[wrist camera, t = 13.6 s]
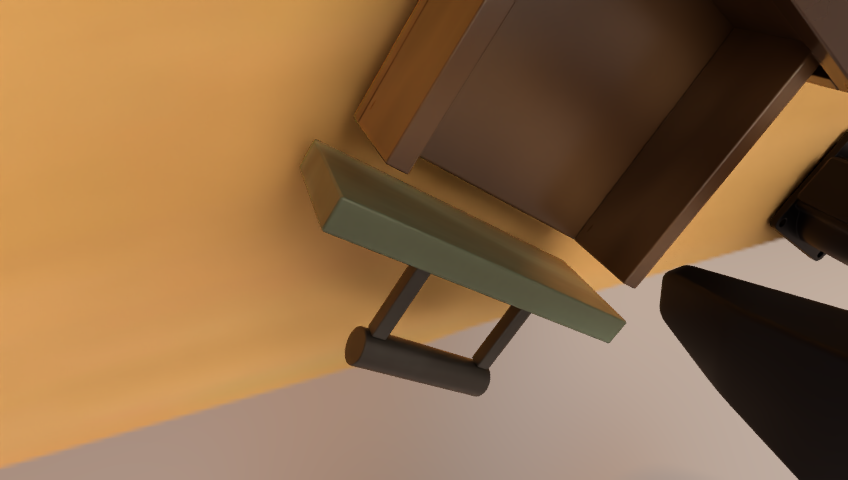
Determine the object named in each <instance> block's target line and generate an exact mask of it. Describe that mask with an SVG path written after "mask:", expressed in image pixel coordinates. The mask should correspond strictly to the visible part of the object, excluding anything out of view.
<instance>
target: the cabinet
mask: <svg viewBox="0 0 848 480" xmlns="http://www.w3.org/2000/svg"><path fill="white" fill-rule="evenodd" d="M772 2H773V3H774V4H775V6H776V7H777V8H778V10H779V11H780V12H781V14H782V15H783V16H784V17H785V19H786V20H787V21H788V23H789V24H790V25H791V27H792V28H793V29H794V31H795V32H796V33H797V35H798V36H799V37H800V39H801V40H802V41H803V43H804V44H805V45H806V46H807V48H808V49H809V50H810V52H811V53H812V54H813V56H814V57H815V58H816V60H817V61H818V62H819V64H820V65H819V66H818V67H817V69H816V70H815V71H814V72H813V74H812V75H811V76H810V77H809V78H808V80H807V81H806V82H809V83H813V84H817V85H820V86H824V87H828V88H831V89H835V90H840V91H844V92H847V93H848V0H772Z"/></svg>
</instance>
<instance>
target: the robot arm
mask: <svg viewBox="0 0 848 480" xmlns="http://www.w3.org/2000/svg"><path fill="white" fill-rule="evenodd" d="M770 226H771V227H772V228H773V229H775V230H776V231H777V232H778V233H780V234H781V235H782V236H783V237H785V238H786V239H787V240H788V241H789V242H791V243H792V244H793V245H794V246H796V247H797V248H798V249H799V250H801V251H802V252H803V253H804V254H806V255H807V256H808V257H810V258H812V259H813V260H815V261H818V260H820V259H822V258H823V256H825V255H826V254H828V255H829V256H831V257H833V258H835V259H837V260H839V261H840V262H842V263H844V264H846V265H848V132H847V133H846V134H845V135H844V136H843V137H842V138H841V139H840V140H839V142H838V143H837V144H836V145H835V146H834V147H833V148H832V150H831V151H830V152H829V153H828V154H827V155H826V156H825V158H824V159H823V160H822V161H821V162H820V163H819V164H818V166H817V167H816V168H815V169H814V170H813V171H812V172H811V174H810V175H809V176H808V177H807V178H806V179H805V180H804V182H803V183H802V184H801V185H800V186H799V187H798V188H797V190H796V191H795V192H794V193H793V194H792V195H791V196H790V198H789V199H788V200H787V201H786V202H785V203H784V205H783V206H782V207H781V208H780V209H779V210H778V211H777V213H776V214H775V215H774V216H773V217H772V219H771V221H770ZM660 312H661V315H662V318H663V320H664V321H665V323H666V324H667V325H668V327H669V328H670V329H671V330H672V332H673V333H674V335H675V336H676V337H677V339H678V340H679V341H680V343H681V344H682V345H683V347H684V348H685V349H686V350H687V352H688V353H689V354H690V356H691V357H692V358H693V360H694V361H695V362H696V364H697V365H698V366H699V368H700V369H701V370H702V372H703V373H704V374H705V376H706V377H707V378H708V380H709V381H710V382H711V383H712V384H713V386H714V387H715V388H716V389H717V391H718V392H719V393H720V394H721V395H722V397H723V398H724V399H725V400H726V401H727V402H728V403H729V404H730V406H731V407H732V408H733V409H734V410H735V411H736V412H737V413H738V414H739V415H740V416H741V417H742V418H743V420H744V421H745V422H746V423H747V424H748V425H749V426H750V427H751V428H752V429H753V431H754V432H755V433H756V434H757V435H758V436H759V437H760V438H761V439H762V440H763V441H764V442H765V444H766V445H767V446H768V447H769V448H770V449H771V450H772V451H773V452H774V453H775V454H776V456H777V457H778V458H779V459H780V460H781V461H782V462H783V463H784V464H785V465H786V466H787V467H788V468H789V470H790V471H791V472H792V473H793V474H794V475H795V476H796V477H797V478H798V479H799V480H848V310H844V309H841V308H837V307H834V306H830V305H827V304H823V303H820V302H817V301H813V300H810V299H806V298H803V297H798V296H796V295H792V294H789V293H785V292H782V291H778V290H775V289H771V288H767V287H764V286H761V285H757V284H754V283H750V282H747V281H743V280H740V279H736V278H733V277H729V276H726V275H722V274H719V273H715V272H712V271H708V270H705V269H701V268H698V267H694V266H690V265H685V266H681V267H678V268H676V269H673V270H671V271H668V272H667V273H665V275H664V276H663V280H662V289H661V298H660Z"/></svg>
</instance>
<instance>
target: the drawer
mask: <svg viewBox="0 0 848 480" xmlns="http://www.w3.org/2000/svg"><path fill="white" fill-rule="evenodd" d="M819 65H820V64H819V62H818V61H817V60H816V58H815V57H814V56H813V54H812V53H811V52H810V50H809V49H808V48H807V46H806V45H805V44H804V43H803V41H802V40H801V39H800V37H799V36H798V35H797V33H796V32H795V31H794V29H793V28H792V27H791V25H790V24H789V23H788V21H787V20H786V19H785V17H784V16H783V15H782V14H781V12H780V11H779V10H778V8H777V7H776V6H775V4H774V3H773V2H772V0H419V1H418V3H417V4H416V6H415V8H414V10H413V11H412V13H411V15H410V17H409V19H408V20H407V22H406V24H405V26H404V27H403V29H402V31H401V33H400V34H399V36H398V38H397V40H396V41H395V43H394V45H393V47H392V48H391V50H390V52H389V54H388V56H387V57H386V59H385V61H384V63H383V64H382V66H381V68H380V70H379V71H378V73H377V75H376V77H375V78H374V80H373V82H372V84H371V86H370V87H369V89H368V91H367V93H366V94H365V96H364V98H363V100H362V101H361V103H360V105H359V107H358V108H357V110H356V112H355V114H354V119H355V120H356V121H357V123H358V125H359V126H360V128H361V129H362V130H363V132H364V133H365V135H366V136H367V137H368V139H369V140H370V142H371V143H372V144H373V146H374V147H375V149H376V150H377V151H378V153H379V154H380V156H381V157H382V158H383V160H384V161H385V163H386V164H388V165H390V166H392V167H394V168H396V169H398V170H400V171H402V172H404V173H406V174H408V173H409V172H410V171H411V169H412V167H413V166H414V164H415V163H416V161H417V159H418V158H419V157H421V158H423V159H424V160H426V161H428V162H430V163H432V164H434V165H436V166H438V167H439V168H441V169H443V170H445V171H447V172H449V173H451V174H453V175H454V176H456V177H458V178H460V179H462V180H464V181H466V182H468V183H469V184H471V185H473V186H475V187H477V188H479V189H481V190H483V191H484V192H486V193H488V194H490V195H492V196H494V197H496V198H498V199H499V200H501V201H503V202H505V203H507V204H509V205H511V206H512V207H514V208H516V209H518V210H520V211H522V212H524V213H526V214H527V215H529V216H531V217H533V218H535V219H537V220H539V221H541V222H542V223H544V224H546V225H548V226H550V227H552V228H554V229H556V230H557V231H559V232H561V233H563V234H565V235H567V236H569V237H571V238H572V239H574V240H575V241H576V242H577V243H578V244H580V245H581V246H582V247H583V248H584V249H585V250H586V251H587V252H589V253H590V254H591V255H592V256H593V257H594V258H595V259H597V260H598V261H599V262H600V263H601V264H602V265H603V266H604V267H606V268H607V269H608V270H609V271H610V272H611V273H612V274H614V275H615V276H616V277H617V278H618V279H619V280H620V281H622V282H623V283H624V284H626V285H628V286H630V287H632V288H636V287H637V286H638V285H639V284H640V282H641V281H642V280H643V279H644V277H645V276H646V275H647V274H648V273H649V271H650V270H651V269H652V268H653V267H654V265H655V264H656V263H657V262H658V260H659V259H660V258H661V257H662V256H663V254H664V253H665V252H666V251H667V250H668V248H669V247H670V246H671V245H672V243H673V242H674V241H675V240H676V239H677V237H678V236H679V235H680V234H681V233H682V231H683V230H684V229H685V228H686V226H687V225H688V224H689V223H690V222H691V220H692V219H693V218H694V217H695V216H696V214H697V213H698V212H699V211H700V209H701V208H702V207H703V206H704V205H705V203H706V202H707V201H708V200H709V199H710V197H711V196H712V195H713V194H714V192H715V191H716V190H717V189H718V188H719V186H720V185H721V184H722V183H723V182H724V180H725V179H726V178H727V177H728V175H729V174H730V173H731V172H732V171H733V169H734V168H735V167H736V166H737V165H738V163H739V162H740V161H741V160H742V158H743V157H744V156H745V155H746V154H747V152H748V151H749V150H750V149H751V148H752V146H753V145H754V144H755V143H756V141H757V140H758V139H759V138H760V137H761V135H762V134H763V133H764V132H765V131H766V129H767V128H768V127H769V126H770V124H771V123H772V122H773V121H774V120H775V118H776V117H777V116H778V115H779V114H780V112H781V111H782V110H783V109H784V107H785V106H786V105H787V104H788V103H789V101H790V100H791V99H792V98H793V97H794V95H795V94H796V93H797V92H798V91H799V89H800V88H801V87H802V86H803V84H804V83H805V82H806V81H807V80H808V78H809V77H810V76H811V75H812V74H813V72H814V71H815V70H816V69H817V67H818V66H819ZM299 168H300V170H301V173H302V176H303V179H304V182H305V185H306V187H307V190H308V193H309V196H310V199H311V202H312V204H313V207H314V210H315V213H316V216H317V219H318V221H319V224H320V227H321V230H322V231H323V232H326V233H328V234H331V235H333V236H336V237H338V238H341V239H344V240H346V241H349V242H351V243H354V244H356V245H359V246H361V247H364V248H366V249H369V250H372V251H374V252H377V253H379V254H382V255H384V256H387V257H389V258H392V259H395V260H397V261H400V262H402V263H405V264H407V265H408V267H407V268H406V270H405V271H404V273H403V274H402V276H401V277H400V279H399V280H398V282H397V283H396V285H395V287H394V288H393V290H392V291H391V293H390V294H389V296H388V297H387V299H386V300H385V302H384V303H383V305H382V306H381V308H380V309H379V311H378V312H377V314H376V315H375V317H374V318H373V320H372V321H371V323H370V324H369V328H366V327H363V326H359V327H356V328H355V329H354V330H353V331H352V332H351V334H350V336H349V338H348V340H347V343H346V347H345V359H346V362H347V363H348V364H349V365H351V366H355V367H359V368H363V369H367V370H371V371H375V372H380V373H383V374H387V375H391V376H395V377H399V378H403V379H407V380H411V381H415V382H419V383H424V384H427V385H431V386H435V387H440V388H443V389H448V390H452V391H455V392H460V393H464V394H468V395H472V396H480V395H482V394H483V393H484V392H485V391H486V390H487V388H488V385H489V383H490V371H489V367H490V366H491V365H492V364H493V362H494V361H495V360H496V358H497V357H498V356H499V354H500V353H501V352H502V351H503V349H504V348H505V347H506V345H507V344H508V343H509V341H510V340H511V339H512V337H513V336H514V335H515V334H516V332H517V331H518V330H519V328H520V327H521V326H522V324H523V323H524V322H525V320H526V319H527V318H528V317H529V315H530V314H531V313H532V314H535V315H537V316H540V317H543V318H545V319H548V320H550V321H553V322H555V323H558V324H560V325H563V326H566V327H568V328H571V329H573V330H576V331H578V332H581V333H584V334H586V335H589V336H591V337H594V338H596V339H599V340H602V341H604V342H606V343H610V342H611V341H612V339H613V338H614V337H615V336H616V335H617V333H618V332H619V331H620V330H621V329H622V327H623V326H624V325H625V324H626V321H625V320H624V319H623V318H622V317H621V316H620V315H619V314H618V313H617V312H616V311H615V310H614V309H613V308H612V307H611V306H610V305H609V304H608V303H607V302H606V301H604V300H603V299H602V298H601V297H600V296H599V295H598V294H597V293H596V292H595V291H594V290H593V289H592V288H591V287H590V286H589V285H588V284H587V283H586V282H585V281H584V280H583V279H582V278H581V277H580V276H579V275H578V274H577V273H576V272H575V271H574V270H573V269H571V268H570V267H569V266H568V265H567V264H566V263H565V262H564V261H563V260H561V259H559V258H557V257H555V256H553V255H551V254H549V253H547V252H544V251H542V250H540V249H538V248H536V247H534V246H532V245H530V244H528V243H526V242H524V241H522V240H520V239H518V238H516V237H514V236H512V235H510V234H508V233H506V232H504V231H502V230H500V229H498V228H496V227H494V226H492V225H490V224H488V223H486V222H484V221H481V220H479V219H477V218H475V217H473V216H471V215H469V214H467V213H465V212H463V211H461V210H459V209H457V208H455V207H453V206H451V205H449V204H447V203H445V202H443V201H441V200H439V199H437V198H435V197H433V196H431V195H429V194H427V193H425V192H423V191H421V190H418V189H416V188H414V187H412V186H410V185H408V184H406V183H404V182H402V181H400V180H398V179H396V178H394V177H392V176H390V175H388V174H386V173H384V172H382V171H380V170H378V169H376V168H374V167H372V166H370V165H368V164H366V163H364V162H362V161H360V160H358V159H355V158H353V157H351V156H349V155H347V154H345V153H343V152H341V151H339V150H337V149H335V148H333V147H331V146H329V145H327V144H325V143H323V142H321V141H319V140H316V139H315V140H313V142H312V144H311V146H310V147H309V149H308V151H307V153H306V155H305V156H304V158H303V160H302V162H301V164H300V166H299ZM430 274H433V275H435V276H438V277H441V278H443V279H446V280H448V281H451V282H453V283H456V284H458V285H461V286H463V287H466V288H469V289H471V290H474V291H476V292H479V293H481V294H484V295H486V296H489V297H492V298H494V299H497V300H499V301H502V302H504V303H507V304H509V305H511V306H510V307H509V309H508V310H507V311H506V313H505V314H504V315H503V317H502V318H501V319H500V321H499V322H498V323H497V325H496V326H495V328H494V329H493V330H492V331H491V333H490V334H489V335H488V337H487V338H486V340H485V341H484V342H483V343H482V345H481V346H480V347H479V349H478V350H477V352H476V353H475V354H474V356H473V357H472V358H473V359H470V358H466V357H463V356H460V355H457V354H453V353H449V352H446V351H443V350H440V349H436V348H433V347H430V346H426V345H423V344H420V343H416V342H413V341H410V340H406V339H403V338H400V337H396V336H393V335H389V334H390V333H391V331H392V330H393V329H394V327H395V326H396V324H397V323H398V321H399V320H400V318H401V317H402V315H403V314H404V312H405V311H406V309H407V308H408V306H409V305H410V304H411V302H412V301H413V299H414V298H415V296H416V295H417V293H418V292H419V290H420V289H421V287H422V286H423V284H424V283H425V281H426V280H427V278H428V277H429V276H430Z"/></svg>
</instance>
